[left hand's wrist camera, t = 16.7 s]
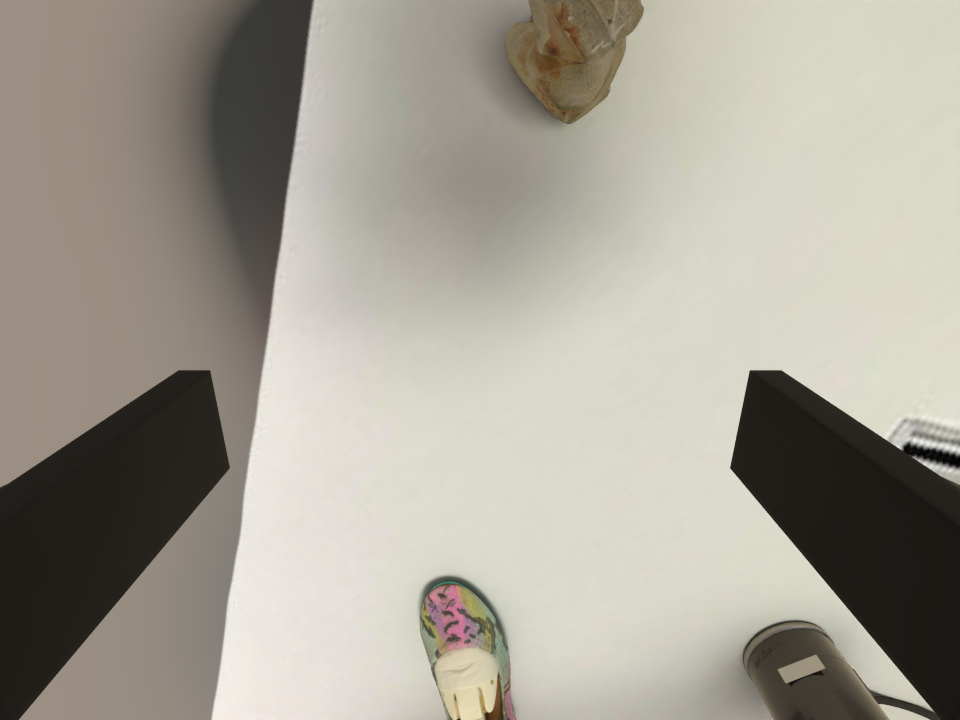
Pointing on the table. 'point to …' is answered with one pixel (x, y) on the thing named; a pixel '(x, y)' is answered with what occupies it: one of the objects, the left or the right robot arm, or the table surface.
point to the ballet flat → (466, 654)
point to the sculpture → (571, 51)
